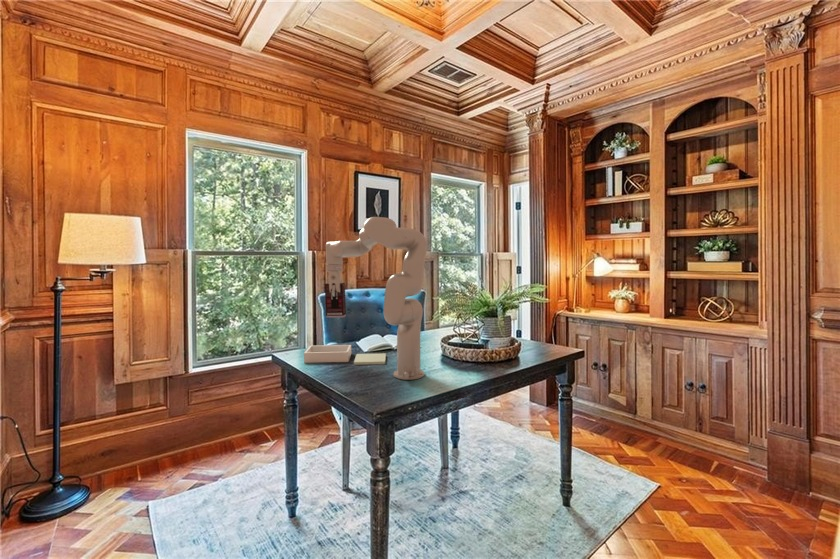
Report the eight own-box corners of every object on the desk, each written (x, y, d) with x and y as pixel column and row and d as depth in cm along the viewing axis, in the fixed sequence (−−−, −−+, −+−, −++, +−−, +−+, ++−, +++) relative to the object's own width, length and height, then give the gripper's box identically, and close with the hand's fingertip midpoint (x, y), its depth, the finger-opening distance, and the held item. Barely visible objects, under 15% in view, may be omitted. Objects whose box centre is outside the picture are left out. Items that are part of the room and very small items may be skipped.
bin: (348, 361, 187) (348, 352, 187) (304, 362, 186) (303, 352, 186) (351, 353, 201) (351, 344, 201) (310, 354, 200) (310, 345, 200)
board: (385, 364, 183) (385, 361, 183) (353, 364, 183) (353, 362, 182) (385, 355, 197) (385, 353, 197) (356, 356, 196) (356, 353, 196)
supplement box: (346, 315, 193) (345, 282, 192) (343, 317, 188) (342, 283, 187) (328, 315, 194) (327, 282, 193) (325, 317, 189) (324, 283, 188)
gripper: (340, 268, 181) (341, 309, 183) (344, 267, 198) (345, 304, 200) (323, 269, 181) (324, 309, 182) (329, 267, 198) (330, 304, 199)
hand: (335, 306), depth 191 cm, fingers closed on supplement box, 5 cm apart
